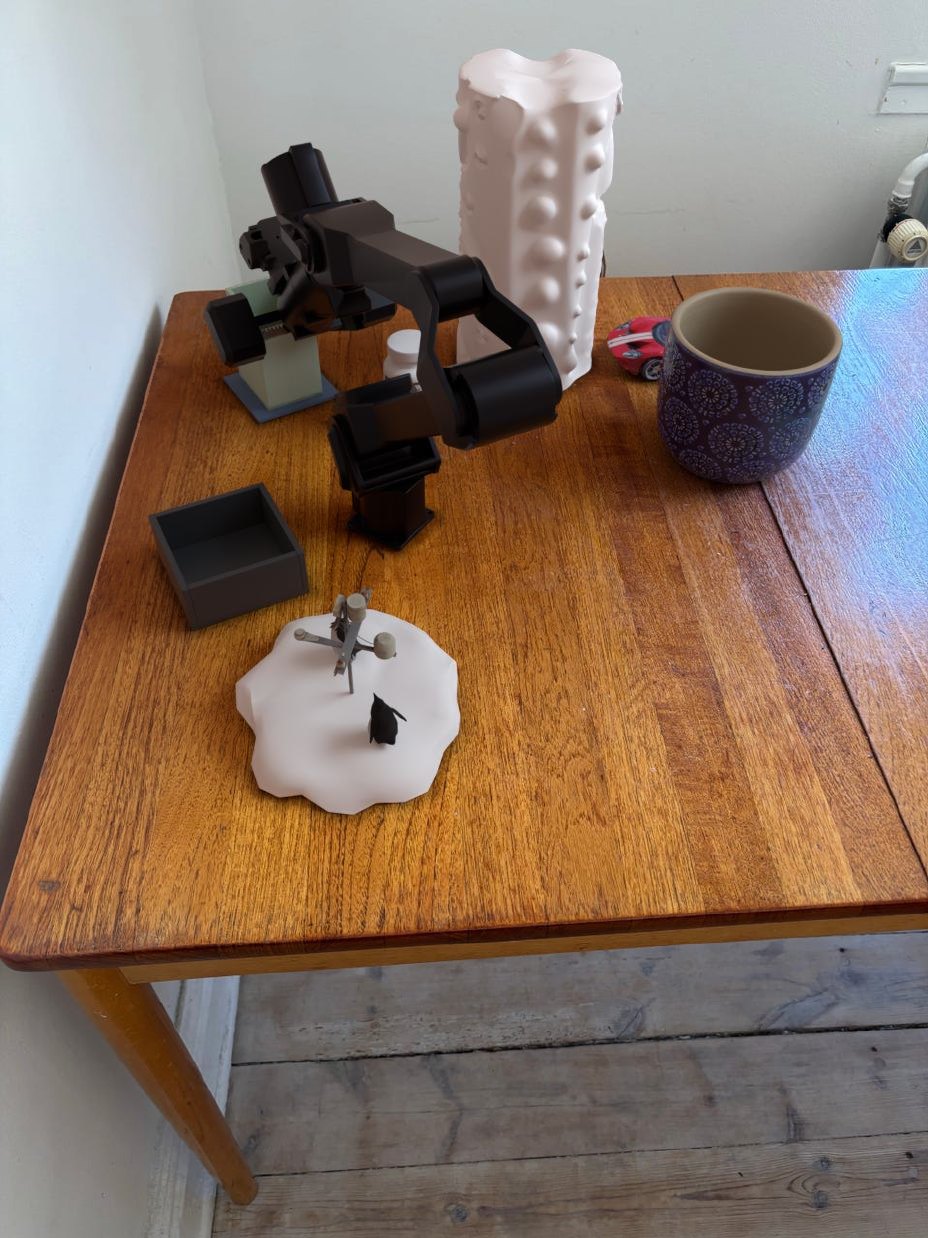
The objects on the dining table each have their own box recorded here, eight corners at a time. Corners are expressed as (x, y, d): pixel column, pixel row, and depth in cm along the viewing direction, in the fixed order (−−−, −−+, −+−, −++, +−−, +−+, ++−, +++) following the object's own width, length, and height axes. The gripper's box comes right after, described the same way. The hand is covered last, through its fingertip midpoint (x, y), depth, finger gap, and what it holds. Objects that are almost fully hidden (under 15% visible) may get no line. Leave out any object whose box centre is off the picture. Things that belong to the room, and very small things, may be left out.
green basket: (322, 394, 114) (313, 304, 106) (269, 411, 111) (255, 321, 103) (292, 360, 118) (281, 272, 110) (239, 376, 116) (224, 288, 108)
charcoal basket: (269, 521, 99) (262, 481, 95) (309, 592, 92) (304, 552, 89) (158, 555, 96) (147, 515, 92) (192, 631, 89) (181, 591, 85)
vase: (456, 322, 125) (458, 37, 102) (587, 326, 125) (618, 41, 102) (449, 401, 114) (450, 99, 90) (594, 405, 113) (631, 104, 90)
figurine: (242, 619, 88) (213, 486, 75) (449, 610, 90) (456, 477, 77) (231, 829, 76) (193, 712, 63) (471, 813, 78) (482, 696, 65)
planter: (664, 395, 115) (687, 273, 104) (812, 425, 111) (851, 302, 100) (631, 481, 104) (653, 354, 93) (794, 518, 100) (836, 390, 90)
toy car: (600, 340, 123) (604, 303, 119) (774, 337, 124) (784, 300, 120) (612, 384, 116) (617, 346, 113) (796, 380, 117) (807, 342, 114)
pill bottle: (445, 430, 110) (445, 349, 103) (395, 441, 108) (392, 360, 101) (427, 402, 113) (425, 322, 106) (379, 412, 112) (374, 332, 105)
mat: (341, 396, 114) (340, 393, 114) (259, 423, 110) (258, 420, 110) (302, 355, 120) (301, 352, 120) (223, 379, 116) (222, 376, 116)
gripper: (378, 177, 96) (334, 243, 110) (191, 223, 89) (171, 287, 103) (421, 290, 97) (373, 341, 111) (240, 343, 90) (214, 390, 104)
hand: (285, 337), depth 107 cm, fingers open, 9 cm apart
